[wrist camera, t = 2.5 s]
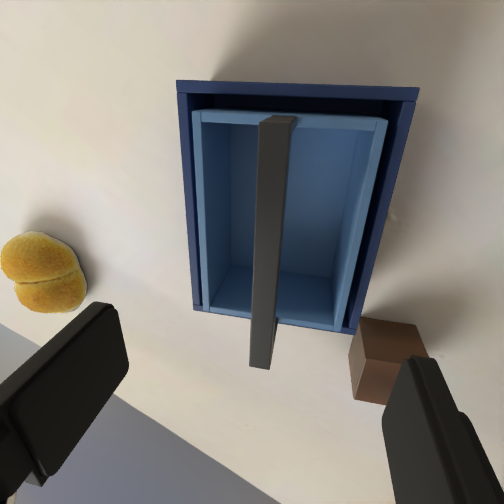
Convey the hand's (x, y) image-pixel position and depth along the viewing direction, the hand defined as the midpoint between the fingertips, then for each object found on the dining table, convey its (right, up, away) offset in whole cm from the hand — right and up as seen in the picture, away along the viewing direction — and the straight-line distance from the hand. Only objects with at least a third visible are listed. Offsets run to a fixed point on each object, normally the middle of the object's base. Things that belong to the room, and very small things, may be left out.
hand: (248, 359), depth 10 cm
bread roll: (-21, +2, +23) cm, 31 cm away
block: (+12, -5, +19) cm, 23 cm away
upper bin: (+3, +7, +13) cm, 16 cm away
